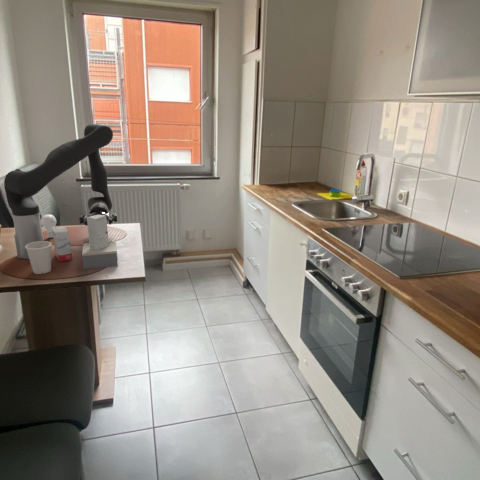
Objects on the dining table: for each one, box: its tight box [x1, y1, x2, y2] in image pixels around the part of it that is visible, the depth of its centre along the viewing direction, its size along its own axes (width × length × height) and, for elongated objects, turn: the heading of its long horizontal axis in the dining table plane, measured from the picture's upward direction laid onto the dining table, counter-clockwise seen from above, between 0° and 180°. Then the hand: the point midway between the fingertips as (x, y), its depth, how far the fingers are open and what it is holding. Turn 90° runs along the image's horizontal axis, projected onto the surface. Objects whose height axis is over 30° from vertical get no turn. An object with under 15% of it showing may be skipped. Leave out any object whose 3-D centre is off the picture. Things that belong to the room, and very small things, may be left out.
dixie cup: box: [25, 240, 53, 275], centre depth 135 cm, size 8×8×10 cm
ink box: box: [52, 225, 73, 262], centre depth 148 cm, size 9×5×12 cm, turn 33°
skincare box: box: [87, 214, 110, 250], centre depth 143 cm, size 6×4×12 cm
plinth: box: [81, 240, 119, 270], centre depth 146 cm, size 12×12×6 cm
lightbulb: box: [40, 213, 57, 239], centre depth 170 cm, size 6×6×11 cm
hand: (98, 222), depth 148 cm, fingers open, 8 cm apart
